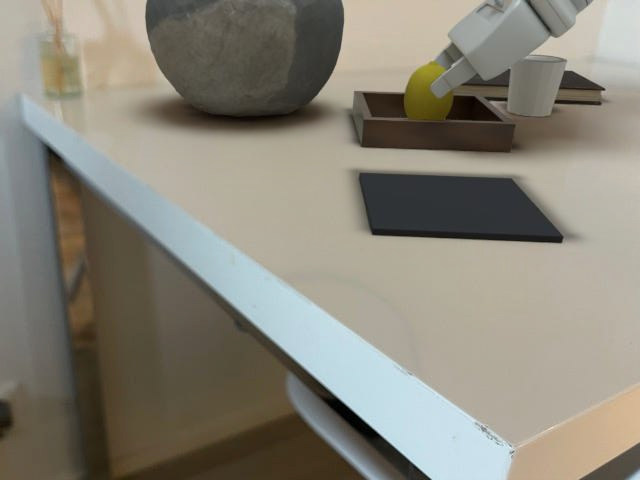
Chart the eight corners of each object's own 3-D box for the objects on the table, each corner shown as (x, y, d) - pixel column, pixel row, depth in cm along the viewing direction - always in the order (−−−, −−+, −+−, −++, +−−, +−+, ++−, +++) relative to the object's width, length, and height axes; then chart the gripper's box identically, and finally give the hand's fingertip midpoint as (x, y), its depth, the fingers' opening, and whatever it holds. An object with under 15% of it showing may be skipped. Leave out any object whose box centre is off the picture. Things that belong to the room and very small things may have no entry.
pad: (510, 183, 61) (511, 177, 61) (562, 242, 49) (564, 236, 49) (359, 177, 62) (359, 172, 62) (372, 234, 50) (372, 228, 50)
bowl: (157, 137, 74) (150, -10, 67) (144, 94, 95) (138, -21, 88) (365, 130, 79) (378, -8, 72) (309, 90, 100) (315, -19, 93)
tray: (476, 118, 85) (480, 94, 84) (510, 152, 71) (516, 124, 70) (352, 114, 86) (354, 90, 85) (361, 146, 72) (363, 119, 71)
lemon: (455, 136, 77) (467, 64, 73) (410, 137, 76) (419, 65, 72) (436, 125, 81) (446, 57, 78) (393, 126, 81) (401, 57, 77)
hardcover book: (601, 104, 94) (605, 88, 93) (436, 98, 97) (438, 81, 96) (568, 84, 108) (571, 70, 107) (425, 79, 111) (427, 64, 110)
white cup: (499, 105, 93) (508, 52, 90) (550, 108, 92) (562, 55, 88) (505, 115, 87) (515, 60, 84) (560, 119, 86) (573, 62, 82)
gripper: (501, -32, 79) (408, 50, 85) (540, -25, 61) (418, 79, 67) (532, 10, 81) (438, 88, 86) (578, 28, 63) (456, 125, 68)
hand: (429, 84), depth 77 cm, fingers open, 8 cm apart
